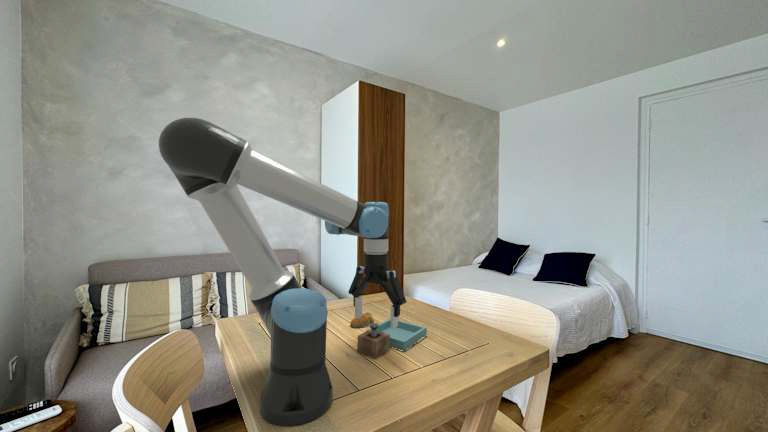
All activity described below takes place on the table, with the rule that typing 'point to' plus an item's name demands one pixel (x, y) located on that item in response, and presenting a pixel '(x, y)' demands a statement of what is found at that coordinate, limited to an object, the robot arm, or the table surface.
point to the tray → (402, 333)
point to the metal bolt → (374, 329)
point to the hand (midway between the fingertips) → (375, 322)
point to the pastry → (362, 320)
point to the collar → (373, 344)
